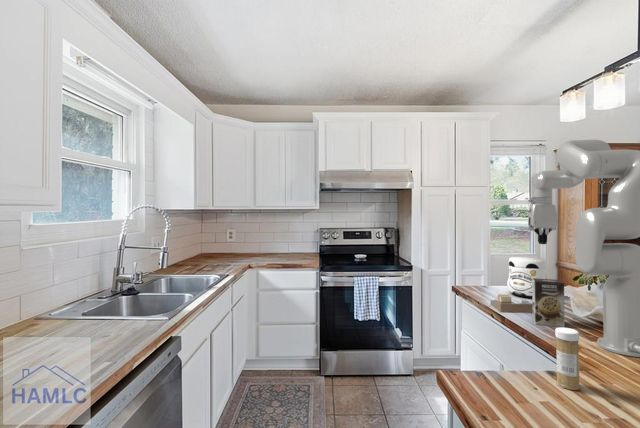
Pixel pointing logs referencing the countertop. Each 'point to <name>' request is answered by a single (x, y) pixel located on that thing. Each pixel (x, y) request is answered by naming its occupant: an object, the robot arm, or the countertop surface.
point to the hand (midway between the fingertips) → (542, 243)
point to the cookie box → (548, 302)
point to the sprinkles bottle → (567, 358)
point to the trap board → (513, 307)
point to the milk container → (524, 274)
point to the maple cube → (504, 298)
